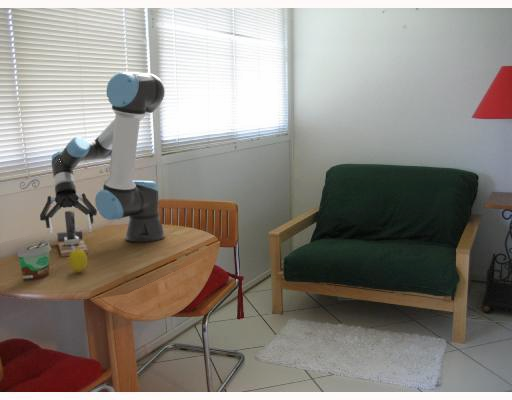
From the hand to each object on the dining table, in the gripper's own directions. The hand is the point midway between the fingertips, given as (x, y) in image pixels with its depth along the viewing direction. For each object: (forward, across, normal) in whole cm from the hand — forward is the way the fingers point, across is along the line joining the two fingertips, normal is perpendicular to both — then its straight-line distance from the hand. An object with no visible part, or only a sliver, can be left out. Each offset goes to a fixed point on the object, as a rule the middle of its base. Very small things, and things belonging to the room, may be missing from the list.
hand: (71, 232), depth 200 cm
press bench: (+3, 0, -6) cm, 7 cm away
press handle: (+2, 0, -5) cm, 5 cm away
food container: (+25, +12, +15) cm, 32 cm away
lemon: (+26, 0, +16) cm, 31 cm away
